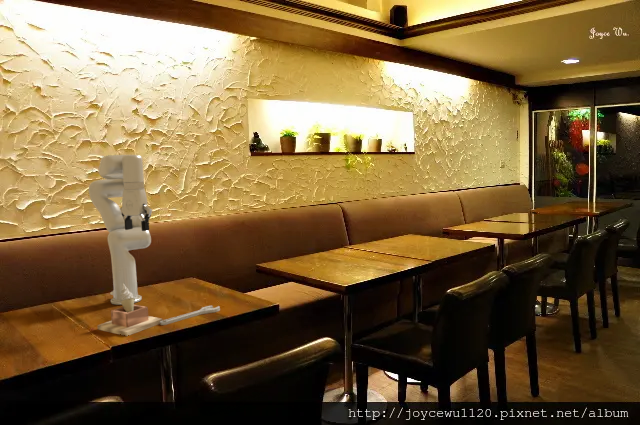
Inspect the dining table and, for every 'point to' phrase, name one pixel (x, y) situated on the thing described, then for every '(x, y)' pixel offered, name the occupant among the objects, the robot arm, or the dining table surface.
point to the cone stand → (129, 321)
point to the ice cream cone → (127, 299)
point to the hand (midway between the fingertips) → (137, 229)
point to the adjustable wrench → (191, 314)
